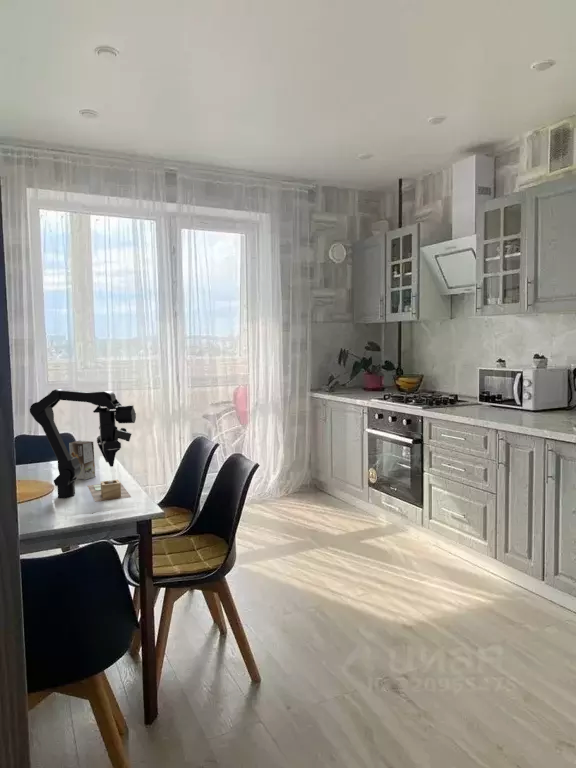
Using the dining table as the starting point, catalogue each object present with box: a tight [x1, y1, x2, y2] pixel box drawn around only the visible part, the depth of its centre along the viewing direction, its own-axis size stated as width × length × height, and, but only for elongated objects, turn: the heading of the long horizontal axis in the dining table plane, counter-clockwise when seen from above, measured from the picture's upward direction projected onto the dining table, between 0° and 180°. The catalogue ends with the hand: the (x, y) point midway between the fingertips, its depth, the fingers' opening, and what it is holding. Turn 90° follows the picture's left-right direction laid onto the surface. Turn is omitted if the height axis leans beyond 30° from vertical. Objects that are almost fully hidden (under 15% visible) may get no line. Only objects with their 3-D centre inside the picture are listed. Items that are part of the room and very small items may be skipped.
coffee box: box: [68, 440, 96, 481], centre depth 254 cm, size 9×6×16 cm
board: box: [87, 480, 132, 503], centre depth 224 cm, size 28×13×6 cm, turn 25°
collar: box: [100, 479, 122, 498], centre depth 218 cm, size 6×6×5 cm
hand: (109, 464), depth 218 cm, fingers open, 9 cm apart
